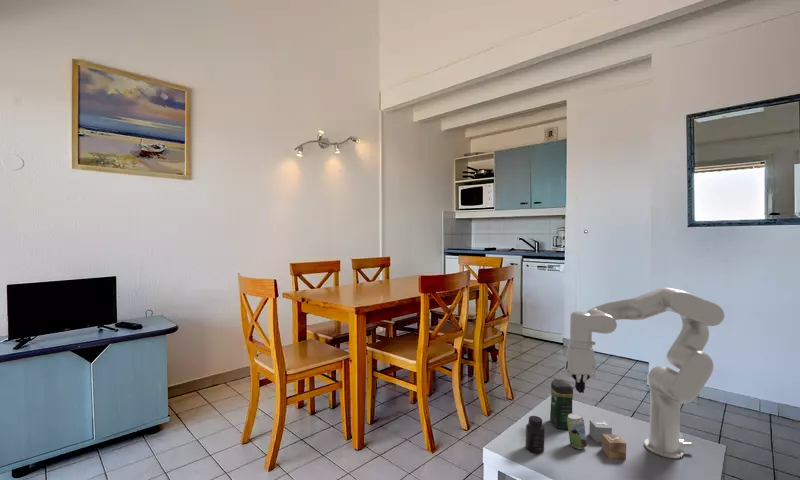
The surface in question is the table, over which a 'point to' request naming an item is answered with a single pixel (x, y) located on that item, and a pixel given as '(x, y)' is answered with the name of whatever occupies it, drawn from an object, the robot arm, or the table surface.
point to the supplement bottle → (535, 435)
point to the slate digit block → (599, 429)
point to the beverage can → (576, 431)
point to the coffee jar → (560, 402)
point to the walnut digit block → (614, 446)
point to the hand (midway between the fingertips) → (580, 391)
